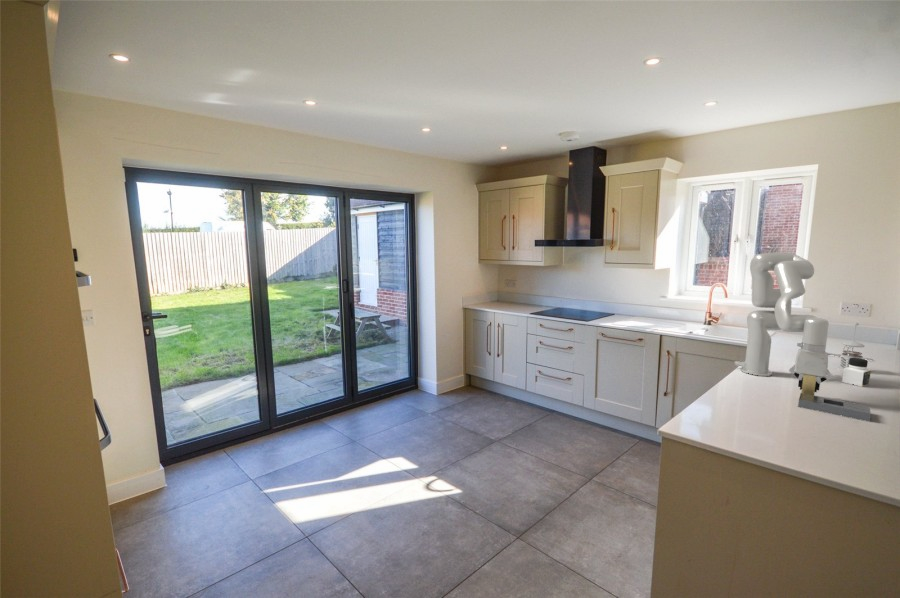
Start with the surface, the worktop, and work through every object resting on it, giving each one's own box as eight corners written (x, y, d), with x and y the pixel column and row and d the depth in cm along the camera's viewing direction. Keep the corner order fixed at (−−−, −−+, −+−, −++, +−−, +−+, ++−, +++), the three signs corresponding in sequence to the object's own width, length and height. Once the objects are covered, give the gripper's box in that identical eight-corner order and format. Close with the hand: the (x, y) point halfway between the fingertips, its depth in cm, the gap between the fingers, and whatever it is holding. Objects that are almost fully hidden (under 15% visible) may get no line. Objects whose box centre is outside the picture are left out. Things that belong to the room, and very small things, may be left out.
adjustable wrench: (872, 361, 230) (872, 358, 230) (872, 363, 226) (873, 360, 226) (813, 352, 247) (813, 350, 247) (812, 354, 243) (812, 352, 243)
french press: (842, 372, 208) (848, 323, 205) (831, 366, 219) (837, 319, 216) (867, 374, 205) (874, 325, 201) (855, 368, 215) (861, 321, 212)
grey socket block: (798, 406, 163) (798, 399, 163) (800, 399, 170) (800, 392, 170) (869, 421, 150) (870, 413, 149) (868, 413, 157) (869, 406, 156)
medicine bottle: (862, 387, 186) (865, 361, 185) (841, 382, 193) (845, 357, 191) (868, 384, 190) (872, 359, 188) (848, 380, 196) (851, 355, 194)
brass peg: (800, 397, 173) (803, 374, 172) (801, 394, 176) (804, 372, 175) (813, 399, 171) (816, 376, 169) (814, 397, 173) (816, 374, 172)
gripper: (786, 345, 174) (781, 387, 176) (840, 353, 162) (835, 397, 165) (788, 342, 179) (783, 383, 181) (841, 349, 168) (835, 392, 170)
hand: (808, 389), depth 173 cm, fingers closed on brass peg, 4 cm apart
